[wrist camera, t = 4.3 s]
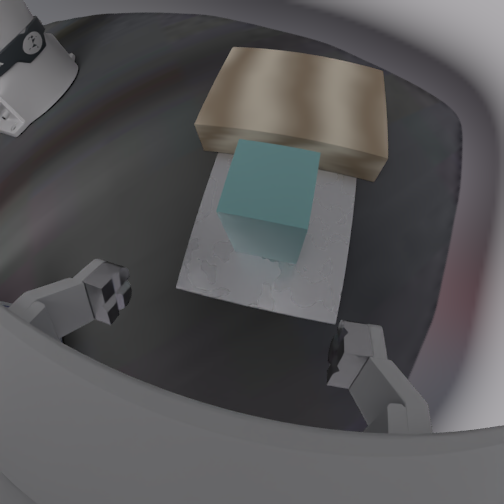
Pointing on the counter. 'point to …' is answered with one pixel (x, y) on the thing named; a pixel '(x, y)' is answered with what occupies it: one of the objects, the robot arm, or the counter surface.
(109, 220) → the counter surface
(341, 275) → the post stand
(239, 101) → the riser block
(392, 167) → the counter surface
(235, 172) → the teal square-faced block
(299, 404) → the counter surface
